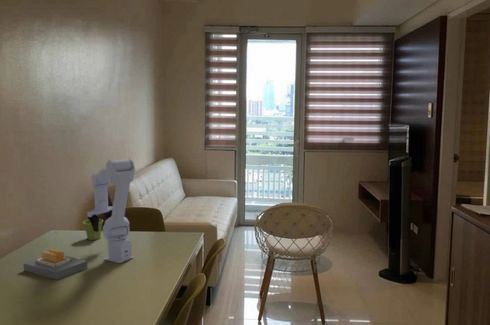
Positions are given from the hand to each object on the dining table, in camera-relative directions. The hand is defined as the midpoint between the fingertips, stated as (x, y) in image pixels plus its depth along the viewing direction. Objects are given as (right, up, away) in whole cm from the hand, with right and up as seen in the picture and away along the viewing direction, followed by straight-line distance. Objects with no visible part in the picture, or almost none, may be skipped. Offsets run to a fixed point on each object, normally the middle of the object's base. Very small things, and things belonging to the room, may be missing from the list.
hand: (102, 229), depth 196 cm
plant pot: (-10, -8, +19) cm, 23 cm away
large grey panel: (-11, -12, -24) cm, 29 cm away
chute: (-12, -9, -23) cm, 28 cm away
